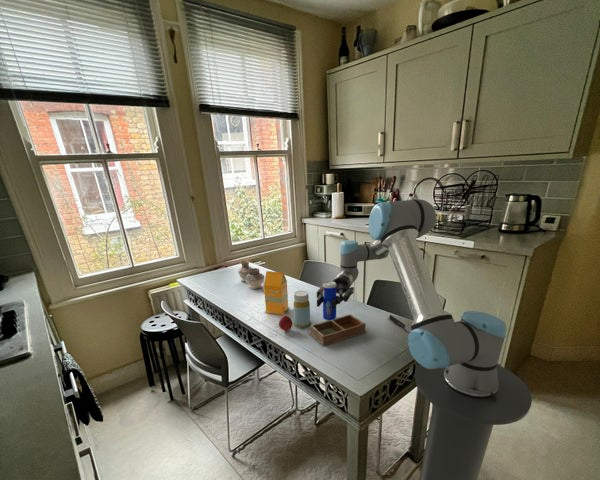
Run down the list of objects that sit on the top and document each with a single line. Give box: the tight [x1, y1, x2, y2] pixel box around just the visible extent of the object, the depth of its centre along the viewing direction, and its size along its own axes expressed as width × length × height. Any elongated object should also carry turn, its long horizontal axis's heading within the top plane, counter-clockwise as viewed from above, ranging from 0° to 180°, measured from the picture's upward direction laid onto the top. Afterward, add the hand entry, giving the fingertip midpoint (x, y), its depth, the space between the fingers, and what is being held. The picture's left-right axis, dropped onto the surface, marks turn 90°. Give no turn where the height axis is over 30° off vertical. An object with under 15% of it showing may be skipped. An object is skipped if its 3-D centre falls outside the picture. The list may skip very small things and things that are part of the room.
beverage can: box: [322, 280, 337, 321], centre depth 122 cm, size 5×5×15 cm
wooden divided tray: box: [310, 314, 366, 347], centre depth 132 cm, size 11×20×4 cm, turn 117°
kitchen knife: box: [389, 314, 412, 333], centre depth 135 cm, size 18×1×2 cm, turn 21°
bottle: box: [293, 290, 311, 328], centre depth 138 cm, size 7×7×15 cm
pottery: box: [237, 259, 265, 290], centre depth 188 cm, size 11×25×12 cm, turn 30°
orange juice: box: [263, 270, 289, 316], centre depth 151 cm, size 8×9×20 cm
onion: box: [278, 313, 294, 332], centre depth 135 cm, size 6×6×8 cm
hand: (325, 304), depth 117 cm, fingers closed on beverage can, 5 cm apart
